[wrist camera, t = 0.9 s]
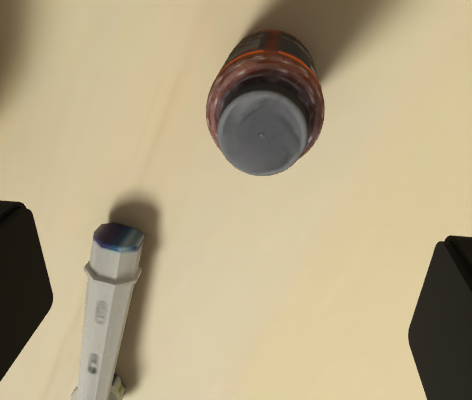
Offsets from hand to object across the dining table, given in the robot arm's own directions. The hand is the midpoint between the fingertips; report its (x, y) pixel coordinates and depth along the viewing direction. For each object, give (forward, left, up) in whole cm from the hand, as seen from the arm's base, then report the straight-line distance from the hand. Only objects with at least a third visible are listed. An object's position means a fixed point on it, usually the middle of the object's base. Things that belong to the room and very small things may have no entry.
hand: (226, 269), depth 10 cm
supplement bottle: (0, 0, -21) cm, 21 cm away
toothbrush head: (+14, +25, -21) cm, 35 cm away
